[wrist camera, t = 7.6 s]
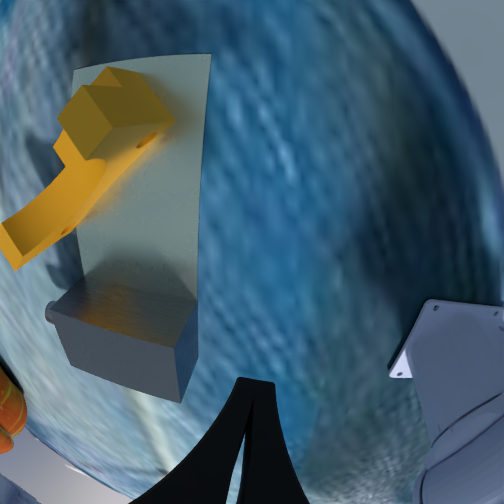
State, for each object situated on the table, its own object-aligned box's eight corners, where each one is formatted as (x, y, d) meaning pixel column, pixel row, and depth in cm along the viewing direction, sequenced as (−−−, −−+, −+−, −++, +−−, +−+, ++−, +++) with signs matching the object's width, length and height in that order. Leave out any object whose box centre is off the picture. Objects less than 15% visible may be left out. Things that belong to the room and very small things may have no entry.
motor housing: (212, 54, 13) (179, 31, 9) (198, 356, 23) (180, 403, 18) (47, 77, 14) (-2, 79, 10) (74, 321, 24) (47, 353, 19)
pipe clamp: (136, 71, 14) (65, 60, 8) (176, 121, 15) (113, 127, 9) (43, 189, 18) (-17, 219, 12) (71, 231, 19) (15, 271, 13)
